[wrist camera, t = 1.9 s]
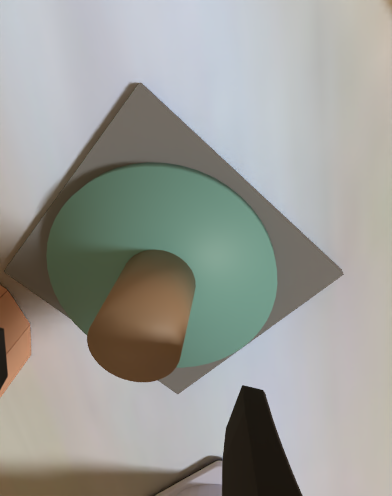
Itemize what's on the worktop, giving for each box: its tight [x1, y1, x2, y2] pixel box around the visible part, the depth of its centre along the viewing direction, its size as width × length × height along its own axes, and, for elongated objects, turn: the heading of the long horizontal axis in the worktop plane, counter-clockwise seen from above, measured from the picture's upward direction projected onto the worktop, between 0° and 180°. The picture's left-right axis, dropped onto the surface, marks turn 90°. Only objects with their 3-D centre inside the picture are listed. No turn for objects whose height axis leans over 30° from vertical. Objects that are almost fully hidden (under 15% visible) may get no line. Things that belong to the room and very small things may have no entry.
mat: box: [4, 83, 344, 394], centre depth 17 cm, size 11×11×1 cm
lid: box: [46, 162, 277, 382], centre depth 14 cm, size 10×10×5 cm
